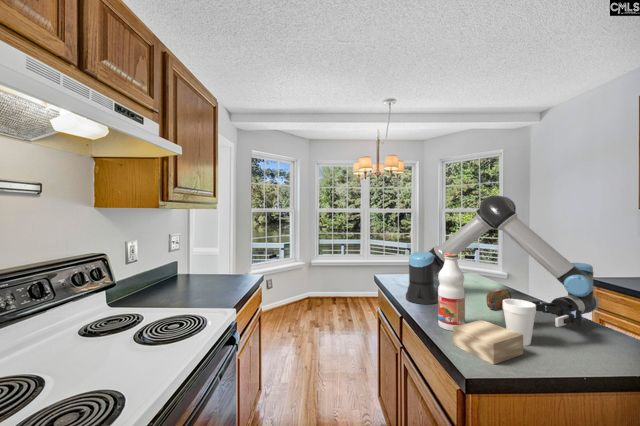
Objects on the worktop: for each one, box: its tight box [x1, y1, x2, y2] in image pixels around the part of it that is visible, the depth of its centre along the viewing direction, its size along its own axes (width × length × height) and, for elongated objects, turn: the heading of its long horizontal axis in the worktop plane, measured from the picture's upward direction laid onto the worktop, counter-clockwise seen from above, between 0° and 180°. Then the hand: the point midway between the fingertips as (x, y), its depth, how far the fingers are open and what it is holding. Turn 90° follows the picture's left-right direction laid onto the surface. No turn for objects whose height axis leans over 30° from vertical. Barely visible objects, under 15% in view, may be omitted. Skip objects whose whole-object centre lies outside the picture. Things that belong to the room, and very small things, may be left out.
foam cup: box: [502, 298, 537, 347], centre depth 99 cm, size 10×9×13 cm
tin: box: [486, 288, 512, 311], centre depth 134 cm, size 15×3×8 cm, turn 117°
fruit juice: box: [437, 253, 466, 332], centre depth 112 cm, size 9×9×28 cm
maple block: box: [452, 319, 524, 365], centre depth 94 cm, size 14×14×6 cm
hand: (534, 315), depth 103 cm, fingers open, 13 cm apart
